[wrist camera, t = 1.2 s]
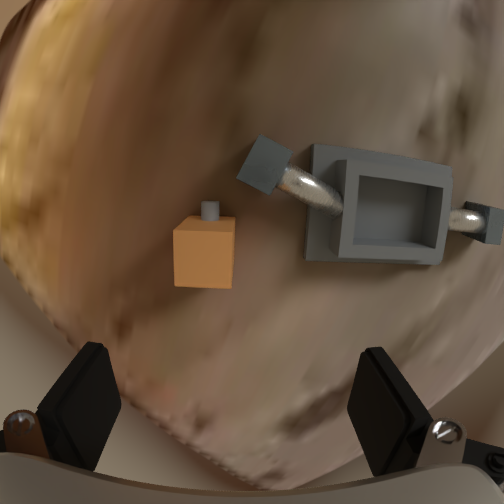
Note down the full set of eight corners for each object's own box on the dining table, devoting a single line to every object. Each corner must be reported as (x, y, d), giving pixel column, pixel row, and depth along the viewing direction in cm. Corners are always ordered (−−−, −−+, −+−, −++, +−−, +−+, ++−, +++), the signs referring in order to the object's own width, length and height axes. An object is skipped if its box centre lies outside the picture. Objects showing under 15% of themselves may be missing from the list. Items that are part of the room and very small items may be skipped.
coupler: (189, 274, 30) (175, 304, 23) (189, 198, 28) (173, 208, 21) (233, 276, 30) (230, 307, 24) (236, 200, 28) (233, 210, 22)
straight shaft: (424, 230, 29) (447, 240, 25) (429, 194, 28) (453, 200, 24) (477, 235, 30) (500, 245, 25) (481, 204, 29) (505, 210, 24)
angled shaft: (339, 185, 28) (355, 188, 24) (320, 221, 29) (333, 230, 25) (257, 139, 27) (259, 133, 22) (237, 176, 28) (235, 178, 23)
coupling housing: (311, 144, 27) (322, 140, 23) (446, 166, 28) (468, 168, 24) (303, 257, 30) (312, 271, 26) (434, 261, 30) (454, 273, 26)
